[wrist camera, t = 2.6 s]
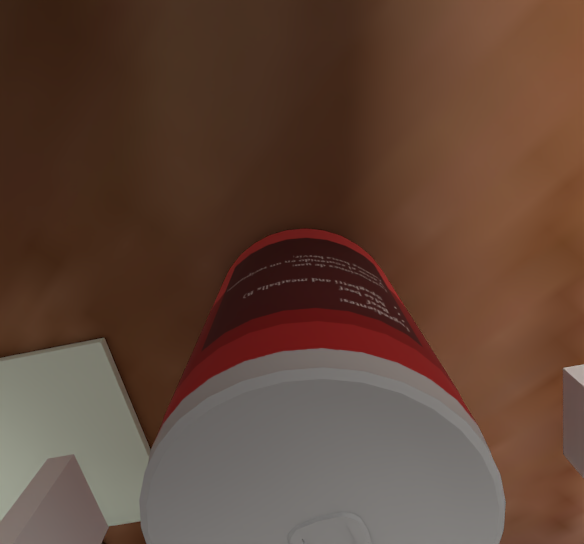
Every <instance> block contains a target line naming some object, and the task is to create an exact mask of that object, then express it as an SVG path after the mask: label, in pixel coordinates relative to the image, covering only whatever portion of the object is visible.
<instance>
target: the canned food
mask: <svg viewBox="0 0 584 544" xmlns="http://www.w3.org/2000/svg"><path fill="white" fill-rule="evenodd" d="M139 505H140V519H141V529H142V532H143V535H144V538H145V541H146V544H499V542H500V539H501V537H502V534H503V531H504V518H505V505H506V502H505V497H504V491H503V486H502V481H501V475H500V473H499V471H498V469H497V466H496V464H495V462H494V460H493V458H492V456H491V452H490V450H489V448H488V446H487V444H486V441H485V439H484V437H483V435H482V433H481V431H480V429H479V427H478V425H477V423H476V422H475V420H474V418H473V417H472V415H471V413H470V412H469V410H468V409H467V407H466V405H465V404H464V402H463V400H462V398H461V396H460V394H459V392H458V390H457V389H456V387H455V386H454V384H453V382H452V381H451V379H450V378H449V376H448V374H447V373H446V371H445V370H444V368H443V367H442V365H441V363H440V362H439V360H438V359H437V357H436V355H435V354H434V352H433V351H432V349H431V347H430V346H429V344H428V343H427V341H426V339H425V338H424V336H423V335H422V333H421V331H420V330H419V328H418V327H417V325H416V323H415V322H414V320H413V319H412V317H411V315H410V314H409V312H408V311H407V309H406V308H405V306H404V304H403V303H402V301H401V300H400V298H399V296H398V295H397V293H396V292H395V290H394V288H393V287H392V285H391V284H390V282H389V280H388V279H387V277H386V276H385V274H384V272H383V271H382V269H381V268H380V267H379V266H378V264H377V263H376V262H375V261H374V259H373V258H372V257H371V256H370V255H369V254H368V253H367V252H366V251H364V250H363V249H362V248H361V247H360V246H358V245H357V244H355V243H353V242H352V241H350V240H348V239H346V238H344V237H343V236H340V235H337V234H334V233H331V232H327V231H324V230H316V229H306V228H304V229H293V230H286V231H282V232H279V233H275V234H272V235H269V236H267V237H265V238H264V239H262V240H260V241H258V242H256V243H254V244H253V245H252V246H250V247H249V248H248V249H247V250H246V251H245V252H243V253H242V254H241V255H240V256H239V257H238V259H237V260H236V261H235V263H234V264H233V265H232V267H231V268H230V269H229V271H228V274H227V276H226V278H225V280H224V282H223V284H222V286H221V289H220V291H219V293H218V295H217V298H216V300H215V302H214V305H213V307H212V309H211V311H210V314H209V316H208V318H207V320H206V323H205V325H204V327H203V329H202V332H201V334H200V336H199V338H198V341H197V343H196V345H195V347H194V350H193V352H192V354H191V356H190V359H189V361H188V363H187V366H186V368H185V370H184V372H183V375H182V377H181V379H180V381H179V384H178V386H177V388H176V390H175V393H174V395H173V397H172V399H171V402H170V404H169V406H168V408H167V411H166V413H165V415H164V419H163V422H162V425H161V427H160V429H159V432H158V434H157V436H156V439H155V441H154V443H153V446H152V448H151V450H150V455H149V461H148V465H147V468H146V470H145V473H144V478H143V483H142V488H141V493H140V499H139Z"/></svg>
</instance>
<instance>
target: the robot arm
mask: <svg viewBox="0 0 584 544" xmlns="http://www.w3.org/2000/svg"><path fill="white" fill-rule="evenodd" d="M563 454H564V456H565V457H566V458H567V459H568V460H569V462H570V463H571V464H572V465H573V466H574V468H575V469H576V470H577V471H578V472H579V474H580V475H581V476H582V477H583V478H584V364H583V365H577V366H572V367H566V368H563ZM108 528H109V527H108V525H107V523H106V521H105V519H104V517H103V514H102V512H101V510H100V508H99V506H98V504H97V502H96V500H95V498H94V495H93V493H92V491H91V489H90V487H89V485H88V483H87V481H86V479H85V477H84V474H83V472H82V470H81V468H80V466H79V464H78V462H77V460H76V458H75V455H74V454H71V455H65V456H60V457H54V458H48V459H47V460H46V462H45V463H44V464H43V466H42V467H41V468H40V470H39V471H38V472H37V474H36V475H35V476H34V478H33V479H32V480H31V482H30V483H29V484H28V486H27V487H26V488H25V490H24V491H23V492H22V494H21V495H20V496H19V498H18V499H17V500H16V502H15V503H14V504H13V506H12V507H11V508H10V510H9V511H8V512H7V514H6V515H5V516H4V518H3V519H2V520H1V522H0V544H101V543H102V541H103V539H104V536H105V534H106V532H107V530H108Z"/></svg>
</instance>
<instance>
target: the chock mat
mask: <svg viewBox="0 0 584 544" xmlns="http://www.w3.org/2000/svg"><path fill="white" fill-rule="evenodd" d="M71 454H74V455H75V458H76V460H77V462H78V464H79V466H80V468H81V470H82V472H83V474H84V477H85V479H86V481H87V483H88V485H89V487H90V489H91V491H92V493H93V495H94V498H95V500H96V502H97V504H98V506H99V508H100V510H101V512H102V514H103V517H104V519H105V521H106V523H107V525H108V526H114V525H121V524H127V523H133V522H139V521H141V519H140V505H139V499H140V493H141V488H142V483H143V478H144V473H145V470H146V468H147V465H148V461H149V455H150V447H149V445H148V442H147V440H146V437H145V435H144V433H143V430H142V428H141V425H140V423H139V420H138V418H137V416H136V413H135V411H134V408H133V406H132V403H131V401H130V399H129V396H128V394H127V391H126V389H125V386H124V384H123V382H122V379H121V377H120V374H119V372H118V369H117V367H116V365H115V362H114V360H113V357H112V355H111V352H110V350H109V348H108V345H107V343H106V340H105V338H100V339H94V340H89V341H84V342H79V343H74V344H69V345H64V346H59V347H53V348H48V349H43V350H38V351H33V352H28V353H23V354H17V355H12V356H7V357H2V358H0V522H1V520H2V519H3V518H4V516H5V515H6V514H7V512H8V511H9V510H10V508H11V507H12V506H13V504H14V503H15V502H16V500H17V499H18V498H19V496H20V495H21V494H22V492H23V491H24V490H25V488H26V487H27V486H28V484H29V483H30V482H31V480H32V479H33V478H34V476H35V475H36V474H37V472H38V471H39V470H40V468H41V467H42V466H43V464H44V463H45V462H46V460H47V459H48V458H54V457H60V456H65V455H71Z"/></svg>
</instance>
